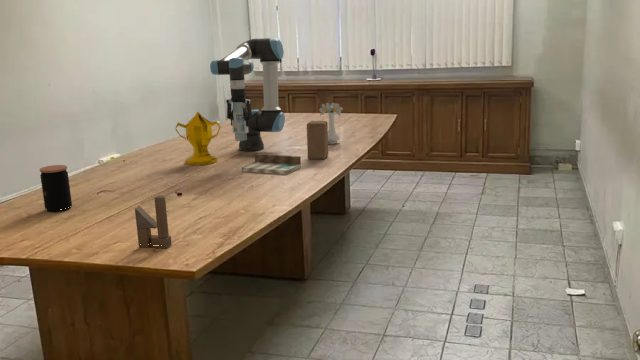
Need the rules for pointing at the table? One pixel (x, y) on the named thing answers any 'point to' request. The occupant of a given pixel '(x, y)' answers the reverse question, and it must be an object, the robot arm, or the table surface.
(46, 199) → the coffee jar
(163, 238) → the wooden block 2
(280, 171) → the marking board
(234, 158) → the table surface
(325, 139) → the wooden block
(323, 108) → the flower vase
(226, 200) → the table surface
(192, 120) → the trophy cup
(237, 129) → the spray paint can
